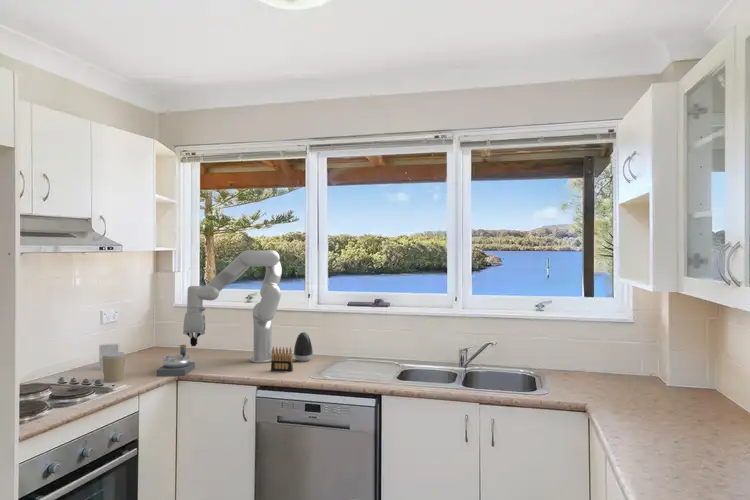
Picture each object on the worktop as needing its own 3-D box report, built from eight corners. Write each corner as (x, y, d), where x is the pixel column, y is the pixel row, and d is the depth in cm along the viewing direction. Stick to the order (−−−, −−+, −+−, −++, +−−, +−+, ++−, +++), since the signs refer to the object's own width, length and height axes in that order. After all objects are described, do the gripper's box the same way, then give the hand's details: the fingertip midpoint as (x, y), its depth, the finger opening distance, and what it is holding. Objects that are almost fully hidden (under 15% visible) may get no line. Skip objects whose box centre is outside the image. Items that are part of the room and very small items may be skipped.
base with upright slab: (120, 365, 255) (120, 342, 255) (117, 369, 246) (117, 345, 246) (101, 366, 252) (101, 343, 252) (97, 370, 243) (97, 346, 243)
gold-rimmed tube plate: (185, 367, 235) (185, 351, 235) (159, 368, 234) (159, 352, 234) (195, 359, 253) (195, 344, 253) (171, 360, 252) (171, 344, 252)
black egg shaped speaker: (313, 358, 272) (314, 330, 272) (311, 362, 261) (311, 334, 261) (295, 358, 272) (295, 330, 272) (292, 362, 262) (292, 333, 262)
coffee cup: (129, 378, 228) (129, 352, 228) (113, 383, 219) (113, 356, 219) (114, 376, 231) (114, 351, 231) (97, 381, 222) (97, 355, 222)
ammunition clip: (270, 371, 243) (270, 346, 243) (272, 370, 245) (272, 346, 245) (291, 371, 241) (291, 347, 241) (292, 370, 243) (292, 346, 243)
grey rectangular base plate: (194, 367, 249) (194, 361, 249) (184, 375, 233) (184, 368, 233) (168, 368, 248) (168, 361, 248) (156, 376, 232) (156, 369, 232)
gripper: (211, 309, 256) (210, 344, 256) (182, 309, 255) (181, 344, 255) (207, 311, 249) (206, 347, 248) (177, 310, 248) (176, 347, 247)
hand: (193, 345), depth 252 cm, fingers closed
